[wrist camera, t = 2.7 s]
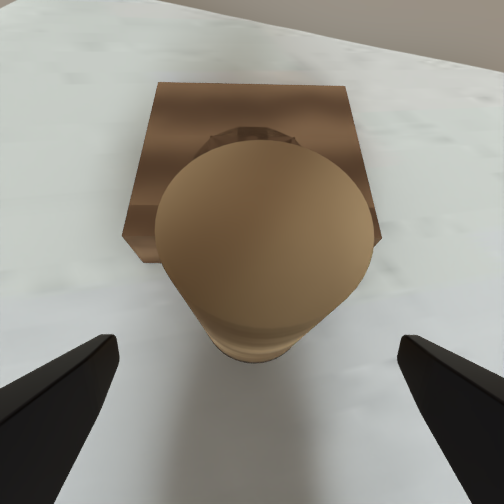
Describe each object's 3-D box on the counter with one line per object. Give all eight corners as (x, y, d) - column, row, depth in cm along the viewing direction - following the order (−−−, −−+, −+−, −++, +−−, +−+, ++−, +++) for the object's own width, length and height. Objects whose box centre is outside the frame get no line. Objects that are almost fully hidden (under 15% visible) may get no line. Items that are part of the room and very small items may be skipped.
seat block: (358, 264, 21) (382, 238, 17) (143, 262, 20) (121, 235, 17) (331, 125, 27) (345, 86, 24) (169, 122, 27) (158, 82, 23)
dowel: (305, 308, 19) (399, 183, 7) (270, 385, 17) (328, 380, 5) (236, 273, 20) (225, 116, 8) (195, 342, 18) (105, 257, 6)
